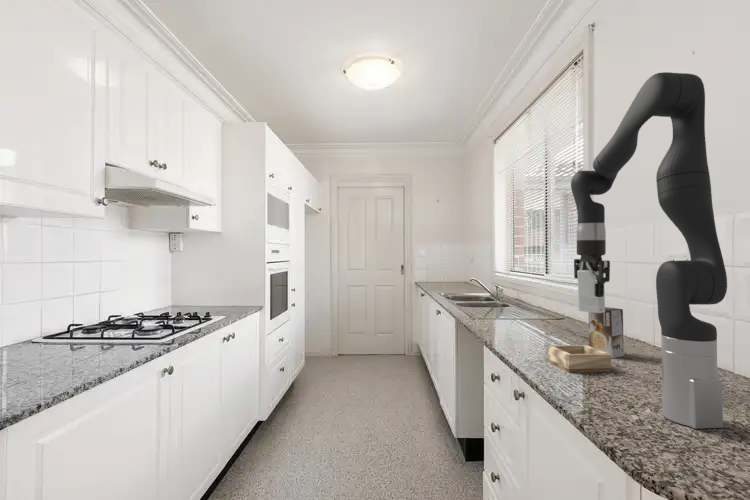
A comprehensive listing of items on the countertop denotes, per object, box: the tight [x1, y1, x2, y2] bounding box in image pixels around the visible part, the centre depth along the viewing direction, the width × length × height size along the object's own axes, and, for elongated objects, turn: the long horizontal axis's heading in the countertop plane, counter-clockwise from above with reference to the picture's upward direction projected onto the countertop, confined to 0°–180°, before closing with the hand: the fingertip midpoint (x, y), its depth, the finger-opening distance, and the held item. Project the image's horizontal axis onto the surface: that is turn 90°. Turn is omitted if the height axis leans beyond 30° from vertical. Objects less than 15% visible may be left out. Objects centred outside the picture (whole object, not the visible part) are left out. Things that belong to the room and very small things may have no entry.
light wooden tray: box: [546, 344, 612, 373], centre depth 125 cm, size 13×13×5 cm
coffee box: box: [587, 306, 625, 359], centre depth 140 cm, size 9×6×16 cm
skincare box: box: [577, 270, 606, 313], centre depth 118 cm, size 6×4×12 cm
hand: (590, 295), depth 118 cm, fingers closed on skincare box, 7 cm apart
